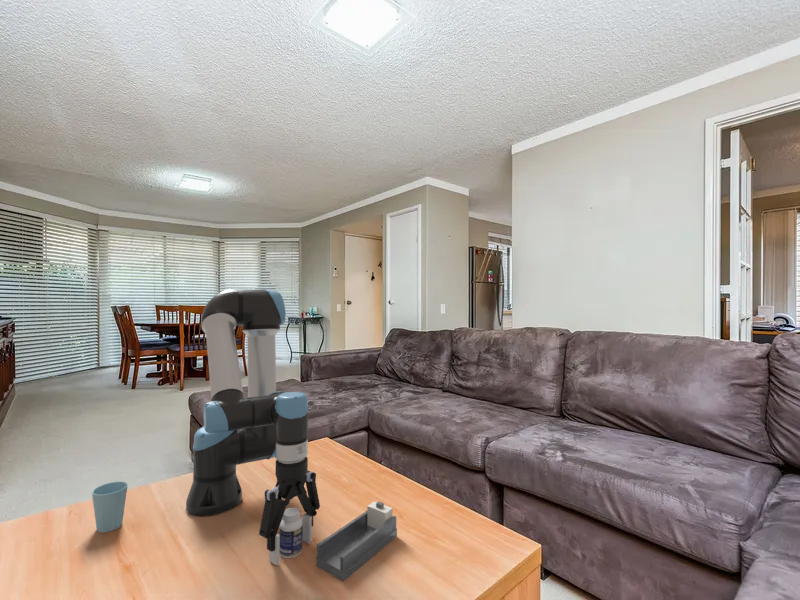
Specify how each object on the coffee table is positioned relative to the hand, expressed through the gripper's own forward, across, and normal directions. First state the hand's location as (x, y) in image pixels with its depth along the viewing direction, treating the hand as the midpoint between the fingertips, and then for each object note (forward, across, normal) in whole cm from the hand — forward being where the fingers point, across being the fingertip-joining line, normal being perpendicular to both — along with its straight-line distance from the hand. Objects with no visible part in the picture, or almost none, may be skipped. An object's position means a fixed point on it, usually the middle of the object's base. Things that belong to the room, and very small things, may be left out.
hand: (291, 551), depth 94 cm
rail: (0, +10, -13) cm, 16 cm away
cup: (0, -21, +48) cm, 52 cm away
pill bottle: (0, 0, 0) cm, 0 cm away
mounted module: (-2, +18, -13) cm, 22 cm away
